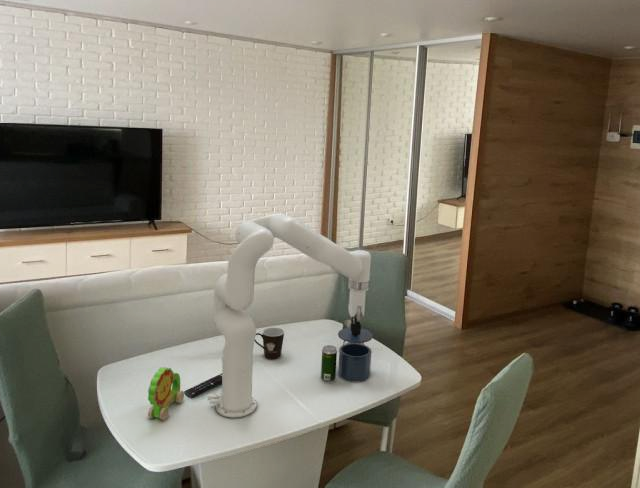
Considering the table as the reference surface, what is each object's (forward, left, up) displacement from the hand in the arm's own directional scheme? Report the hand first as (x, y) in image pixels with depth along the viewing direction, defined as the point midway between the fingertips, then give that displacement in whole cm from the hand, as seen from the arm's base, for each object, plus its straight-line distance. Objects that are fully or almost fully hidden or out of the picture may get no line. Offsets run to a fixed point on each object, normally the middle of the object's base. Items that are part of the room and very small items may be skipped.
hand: (355, 332), depth 194 cm
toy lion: (-63, -24, -17) cm, 69 cm away
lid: (0, 0, -1) cm, 1 cm away
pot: (0, 0, -17) cm, 17 cm away
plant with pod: (+2, +23, -17) cm, 29 cm away
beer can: (-10, -4, -17) cm, 20 cm away
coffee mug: (-32, +16, -17) cm, 39 cm away
